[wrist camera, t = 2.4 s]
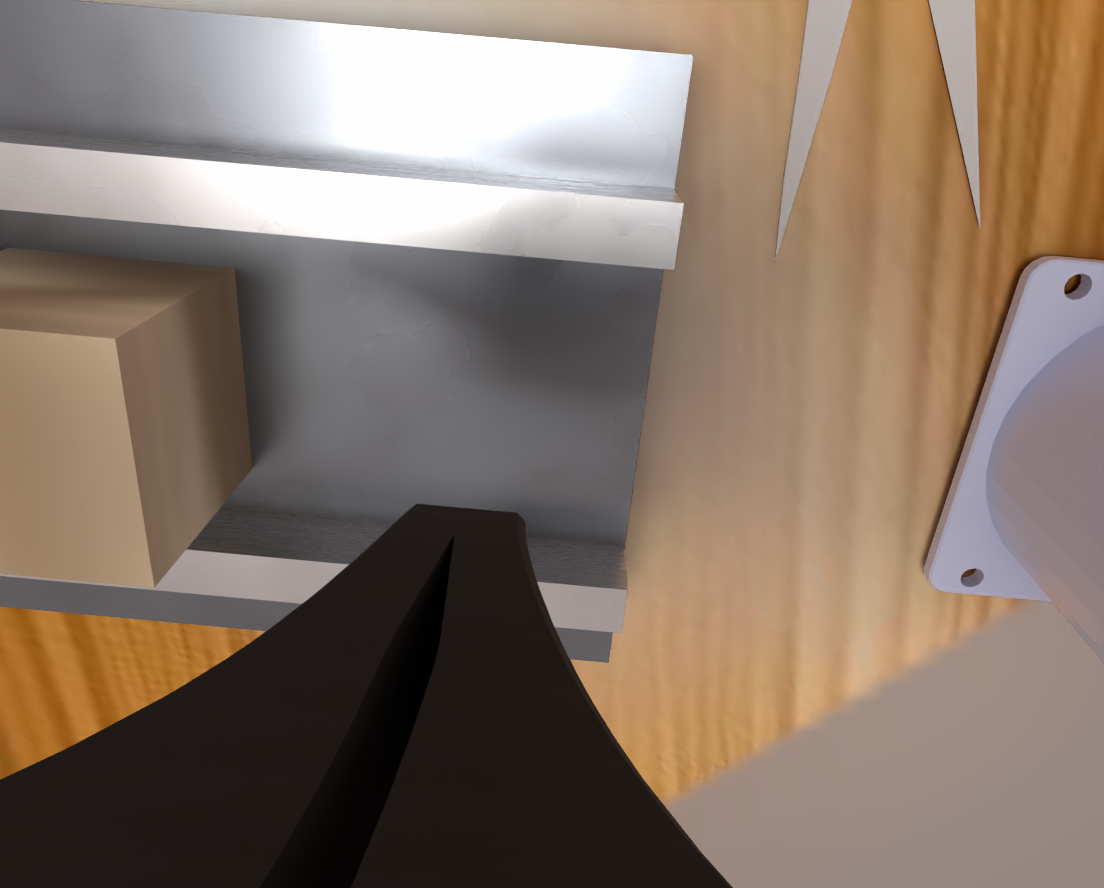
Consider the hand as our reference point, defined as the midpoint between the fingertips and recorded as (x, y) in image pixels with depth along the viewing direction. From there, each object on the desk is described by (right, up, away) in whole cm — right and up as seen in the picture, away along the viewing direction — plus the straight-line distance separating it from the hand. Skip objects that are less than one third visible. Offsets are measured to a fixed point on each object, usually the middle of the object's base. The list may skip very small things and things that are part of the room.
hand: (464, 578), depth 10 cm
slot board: (-5, +4, +8) cm, 10 cm away
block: (-7, +3, +5) cm, 9 cm away
